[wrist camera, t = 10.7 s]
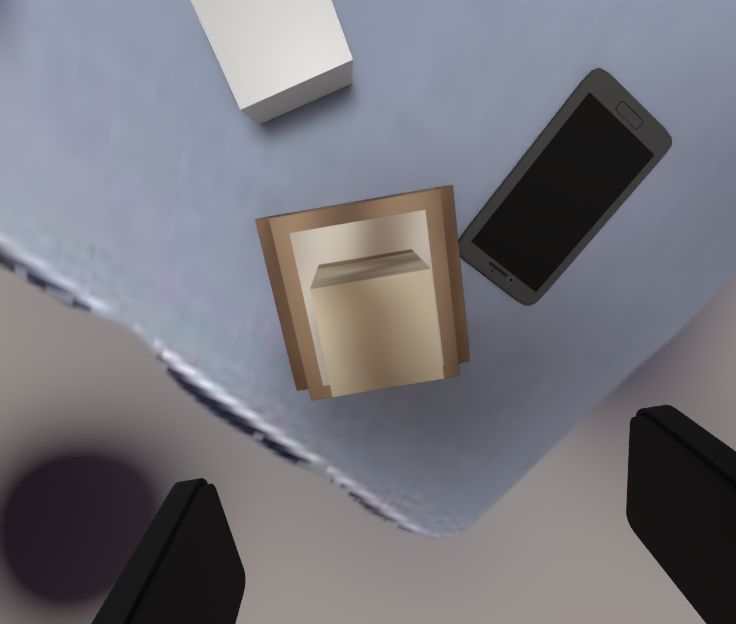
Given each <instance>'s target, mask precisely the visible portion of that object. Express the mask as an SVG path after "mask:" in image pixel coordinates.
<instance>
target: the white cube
mask: <svg viewBox="0 0 736 624" xmlns="http://www.w3.org/2000/svg"><path fill="white" fill-rule="evenodd" d="M191 2H192V4H193V6H194V8H195V10H196V13H197V15H198V17H199V19H200V21H201V24H202V26H203V28H204V30H205V33H206V35H207V37H208V39H209V41H210V44H211V46H212V48H213V50H214V52H215V55H216V57H217V59H218V61H219V63H220V66H221V68H222V70H223V72H224V74H225V77H226V79H227V81H228V83H229V86H230V88H231V90H232V92H233V94H234V97H235V99H236V101H237V103H238V105H239V108H240V110H242V111H243V112H244V113H246V114H247V115H249V116H250V117H251V118H253V119H254V120H256V121H257V122H258V123H260V124H262V123H264V122H267V121H269V120H271V119H273V118H276V117H278V116H280V115H282V114H285V113H287V112H289V111H291V110H294V109H296V108H298V107H300V106H303V105H305V104H307V103H309V102H312V101H314V100H316V99H319V98H321V97H323V96H325V95H328V94H330V93H332V92H334V91H337V90H339V89H341V88H343V87H346V86H348V85H350V84H352V67H353V59H352V56H351V53H350V51H349V48H348V45H347V42H346V40H345V37H344V34H343V31H342V28H341V26H340V23H339V20H338V17H337V15H336V12H335V9H334V6H333V4H332V1H331V0H191Z"/></svg>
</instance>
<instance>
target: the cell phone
mask: <svg viewBox="0 0 736 624" xmlns="http://www.w3.org/2000/svg"><path fill="white" fill-rule="evenodd" d="M671 145H672V138H671V136H670V135H669V133H668V132H667V131H666V129H665V128H664V127H663V126H662V125H661V124H660V123H659V122H658V121H657V120H656V119H655V118H654V117H653V116H652V115H651V114H650V113H649V112H648V111H647V110H646V109H645V108H644V107H643V106H642V105H641V104H640V103H639V102H638V101H637V100H636V99H635V98H634V97H633V96H632V95H631V94H630V93H629V92H628V91H627V90H626V89H625V88H624V87H623V86H622V85H621V84H620V83H619V82H618V81H617V80H616V79H615V78H614V77H613V76H612V75H610V74H609V73H608V72H606V71H605V70H603V69H601V68H597V69H595V70H592V71H591V72H590V73H589V74H588V75H587V76H586V77H585V78H584V79H583V80H582V81H581V83H580V84H579V85H578V86H577V88H576V89H575V90H574V91H573V93H572V94H571V95H570V97H569V98H568V99H567V100H566V102H565V103H564V104H563V106H562V107H561V108H560V109H559V111H558V112H557V113H556V115H555V116H554V117H553V118H552V120H551V121H550V122H549V123H548V125H547V126H546V127H545V129H544V130H543V131H542V132H541V134H540V135H539V136H538V138H537V139H536V140H535V141H534V143H533V144H532V145H531V147H530V148H529V149H528V150H527V152H526V153H525V154H524V155H523V157H522V158H521V159H520V161H519V162H518V163H517V164H516V166H515V167H514V168H513V170H512V171H511V172H510V173H509V175H508V176H507V177H506V178H505V180H504V181H503V182H502V184H501V185H500V186H499V187H498V189H497V190H496V191H495V193H494V194H493V195H492V196H491V198H490V199H489V200H488V202H487V203H486V204H485V205H484V207H483V208H482V209H481V210H480V212H479V213H478V214H477V216H476V217H475V218H474V219H473V221H472V222H471V223H470V225H469V226H468V227H467V229H466V230H465V231H464V233H463V234H462V235H461V237H460V238H459V240H458V244H459V254H460V257H461V258H462V259H463V260H464V261H466V262H467V263H468V264H470V265H471V266H472V267H474V268H475V269H476V270H477V271H479V272H480V273H481V274H483V275H484V276H485V277H487V278H488V279H489V280H490V281H492V282H493V283H494V284H496V285H497V286H498V287H500V288H501V289H502V290H504V291H505V292H506V293H507V294H509V295H510V296H511V297H513V298H514V299H515V300H517V301H518V302H520V303H522V304H524V305H532V304H534V303H536V302H537V301H538V300H539V299H540V298H541V297H542V296H543V295H544V294H545V293H546V292H547V291H548V289H549V288H550V287H551V286H552V285H553V284H554V283H555V281H556V280H557V279H558V278H559V277H560V276H561V274H562V273H563V272H564V271H565V270H566V269H567V267H568V266H569V265H570V264H571V263H572V262H573V261H574V259H575V258H576V257H577V256H578V255H579V254H580V252H581V251H582V250H583V249H584V248H585V247H586V245H587V244H588V243H589V242H590V241H591V240H592V239H593V237H594V236H595V235H596V234H597V233H598V232H599V230H600V229H601V228H602V227H603V226H604V225H605V223H606V222H607V221H608V220H609V219H610V218H611V217H612V215H613V214H614V213H615V212H616V211H617V210H618V208H619V207H620V206H621V205H622V204H623V203H624V201H625V200H626V199H627V198H628V197H629V196H630V195H631V193H632V192H633V191H634V190H635V189H636V188H637V186H638V185H639V184H640V183H641V182H642V181H643V179H644V178H645V177H646V176H647V175H648V174H649V173H650V171H651V170H652V169H653V168H654V167H655V166H656V164H657V163H658V162H659V161H660V160H661V159H662V157H663V156H664V155H665V154H666V153H667V151H668V150H669V148H670V147H671Z"/></svg>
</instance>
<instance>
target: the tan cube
mask: <svg viewBox="0 0 736 624" xmlns="http://www.w3.org/2000/svg"><path fill="white" fill-rule="evenodd" d="M310 293H311V298H312V302H313V307H314V312H315V316H316V321H317V326H318V331H319V335H320V340H321V345H322V350H323V354H324V359H325V364H326V368H327V373H328V378H329V383H330V387H331V392H332V397H338V396H343V395H349V394H355V393H361V392H367V391H373V390H379V389H385V388H391V387H397V386H403V385H409V384H415V383H421V382H427V381H433V380H439V379H444V375H443V366H442V358H441V349H440V341H439V332H438V324H437V315H436V306H435V298H434V289H433V281H432V272H431V268H430V267H429V266H428V265H427V264H426V263H425V262H424V261H423V260H422V259H421V258H420V257H419V256H418V255H417V254H416V253H415V252H414V251H413V250H412V249H410V250H404V251H398V252H392V253H386V254H380V255H374V256H368V257H362V258H356V259H350V260H345V261H339V262H333V263H327V264H321V265H319V266H318V268H317V271H316V274H315V277H314V279H313V282H312V285H311V287H310Z"/></svg>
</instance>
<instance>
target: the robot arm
mask: <svg viewBox="0 0 736 624" xmlns="http://www.w3.org/2000/svg"><path fill="white" fill-rule="evenodd" d="M627 482H628V483H627V505H626V515H627V519H628V522H629V524H630V526H631V528H632V529H633V531H634V533H635V534H636V535H637V536H638V538H639V539H640V540H641V541H642V543H643V544H644V545H645V547H646V548H647V549H648V550H649V552H650V553H651V554H652V555H653V557H654V558H655V559H656V560H657V562H658V563H659V564H660V565H661V567H662V568H663V569H664V571H665V572H666V573H667V574H668V576H669V577H670V578H671V579H672V581H673V582H674V583H675V585H676V586H677V587H678V588H679V590H680V591H681V592H682V593H683V595H684V596H685V597H686V598H687V600H688V601H689V602H690V604H691V605H692V606H693V607H694V609H695V610H696V611H697V612H698V614H699V615H700V616H701V617H702V619H703V620H704V621H705V623H706V624H736V451H734V450H733V449H732V448H730V447H729V446H727V445H726V444H725V443H723V442H721V441H720V440H719V439H718V438H716V437H715V436H713V435H712V434H710V433H709V432H708V431H706V430H705V429H704V428H702V427H701V426H699V425H698V424H697V423H695V422H694V421H692V420H691V419H690V418H688V417H687V416H685V415H684V414H683V413H681V412H680V411H678V410H677V409H676V408H674V407H672V406H670V405H662V406H655V407H649V408H643V409H640V410H638V412H637V413H636V417H633V418H632V419H631V421H630V435H629V458H628V481H627ZM244 589H245V572H244V568H243V565H242V562H241V559H240V557H239V554H238V551H237V548H236V545H235V542H234V540H233V536H232V534H231V531H230V528H229V525H228V522H227V519H226V516H225V513H224V510H223V508H222V505H221V502H220V499H219V496H218V493H217V490H216V488H215V486H214V485H213V484H208V483H207V481H206V480H205V479H203V478H200V479H194V480H187V481H182V482H177V483H175V485H174V486H173V487H172V489H171V491H170V492H169V494H168V496H167V497H166V499H165V501H164V502H163V504H162V506H161V507H160V509H159V511H158V512H157V514H156V516H155V518H154V519H153V521H152V523H151V524H150V526H149V528H148V529H147V531H146V533H145V534H144V536H143V538H142V539H141V541H140V543H139V544H138V546H137V548H136V549H135V551H134V553H133V555H132V557H131V558H130V560H129V561H128V563H127V565H126V566H125V568H124V570H123V572H122V573H121V575H120V576H119V578H118V580H117V581H116V583H115V585H114V587H113V588H112V590H111V592H110V593H109V595H108V597H107V598H106V600H105V602H104V604H103V605H102V607H101V609H100V610H99V612H98V614H97V615H96V617H95V619H94V620H93V622H92V624H235V623H236V619H237V616H238V612H239V608H240V604H241V600H242V597H243V593H244Z"/></svg>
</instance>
